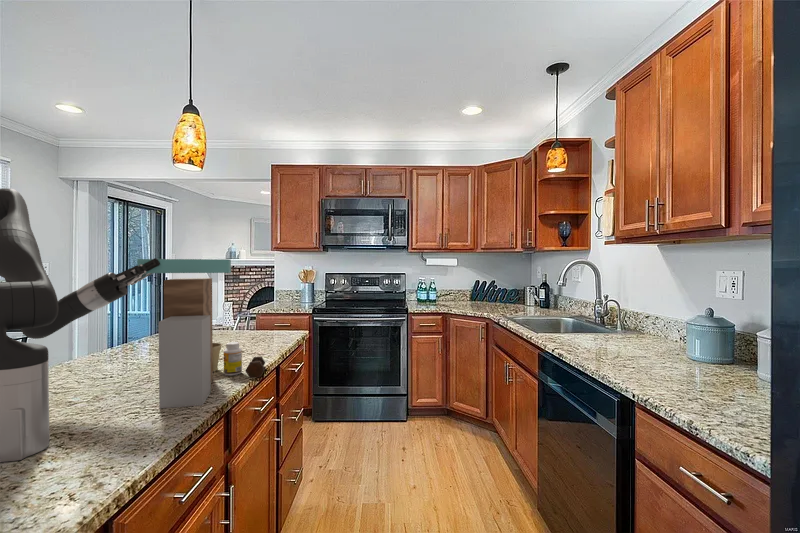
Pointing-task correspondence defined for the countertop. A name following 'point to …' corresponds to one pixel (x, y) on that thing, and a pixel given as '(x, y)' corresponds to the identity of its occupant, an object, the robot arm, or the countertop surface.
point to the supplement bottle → (232, 359)
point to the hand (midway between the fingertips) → (160, 261)
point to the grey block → (184, 361)
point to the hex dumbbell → (255, 367)
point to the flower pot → (216, 355)
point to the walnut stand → (189, 301)
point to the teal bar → (190, 265)
